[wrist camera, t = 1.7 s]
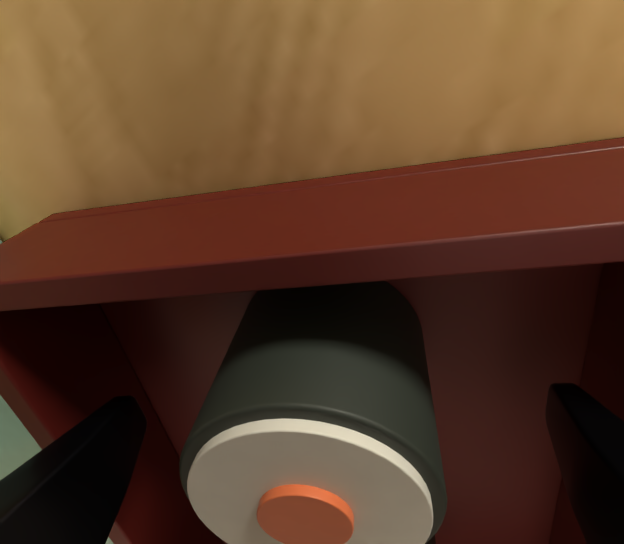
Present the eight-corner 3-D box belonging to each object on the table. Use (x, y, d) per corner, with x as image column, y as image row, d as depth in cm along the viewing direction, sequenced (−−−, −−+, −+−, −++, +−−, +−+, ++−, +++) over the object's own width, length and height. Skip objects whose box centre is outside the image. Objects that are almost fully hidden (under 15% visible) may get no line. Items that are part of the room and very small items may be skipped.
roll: (426, 401, 11) (452, 601, 7) (266, 404, 12) (213, 584, 8) (417, 253, 9) (449, 427, 5) (222, 271, 10) (122, 430, 6)
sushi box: (552, 568, 16) (594, 700, 13) (227, 550, 18) (197, 655, 15) (644, 133, 8) (819, 203, 5) (52, 213, 10) (-82, 290, 7)
